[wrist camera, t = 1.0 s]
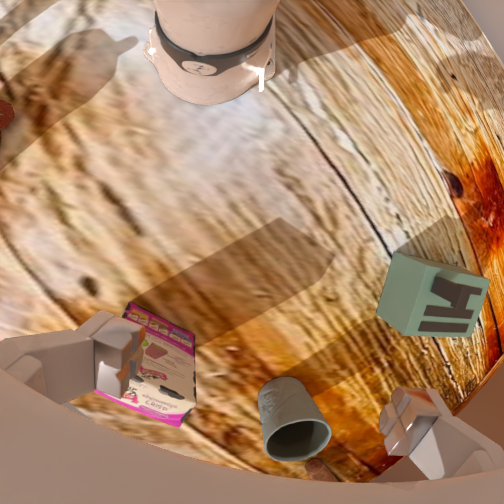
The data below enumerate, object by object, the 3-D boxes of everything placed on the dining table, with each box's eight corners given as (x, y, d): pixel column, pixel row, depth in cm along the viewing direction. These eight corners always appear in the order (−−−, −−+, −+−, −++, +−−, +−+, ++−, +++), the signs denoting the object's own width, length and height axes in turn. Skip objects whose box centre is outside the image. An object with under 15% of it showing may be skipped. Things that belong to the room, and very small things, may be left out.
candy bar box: (117, 326, 43) (86, 390, 28) (129, 300, 43) (99, 358, 27) (182, 358, 46) (179, 431, 30) (196, 334, 46) (198, 403, 30)
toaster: (393, 251, 48) (428, 265, 39) (459, 267, 52) (491, 280, 43) (375, 313, 50) (404, 336, 41) (442, 319, 54) (471, 337, 45)
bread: (319, 493, 61) (325, 508, 56) (299, 461, 56) (306, 479, 51) (341, 484, 62) (349, 498, 56) (325, 450, 57) (334, 467, 51)
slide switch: (434, 273, 40) (462, 286, 34) (444, 275, 40) (472, 287, 34) (428, 294, 40) (455, 309, 34) (438, 295, 41) (465, 310, 35)
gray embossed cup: (317, 393, 52) (342, 436, 40) (273, 424, 52) (289, 470, 41) (286, 362, 49) (309, 407, 38) (239, 396, 49) (250, 445, 38)
